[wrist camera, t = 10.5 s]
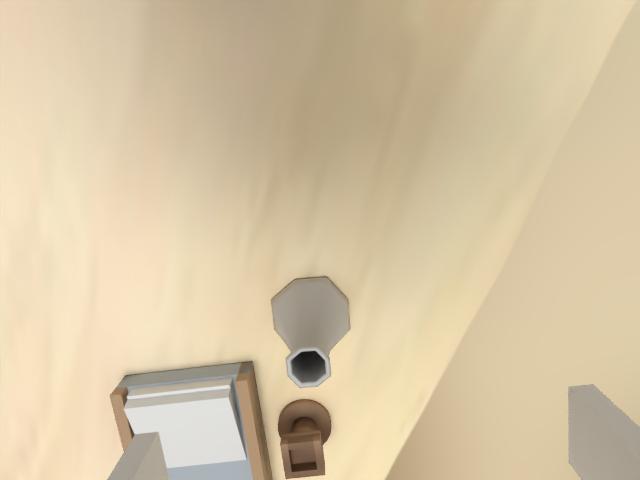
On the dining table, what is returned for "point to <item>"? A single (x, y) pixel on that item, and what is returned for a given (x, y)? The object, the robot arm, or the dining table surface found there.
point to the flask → (310, 327)
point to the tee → (303, 438)
